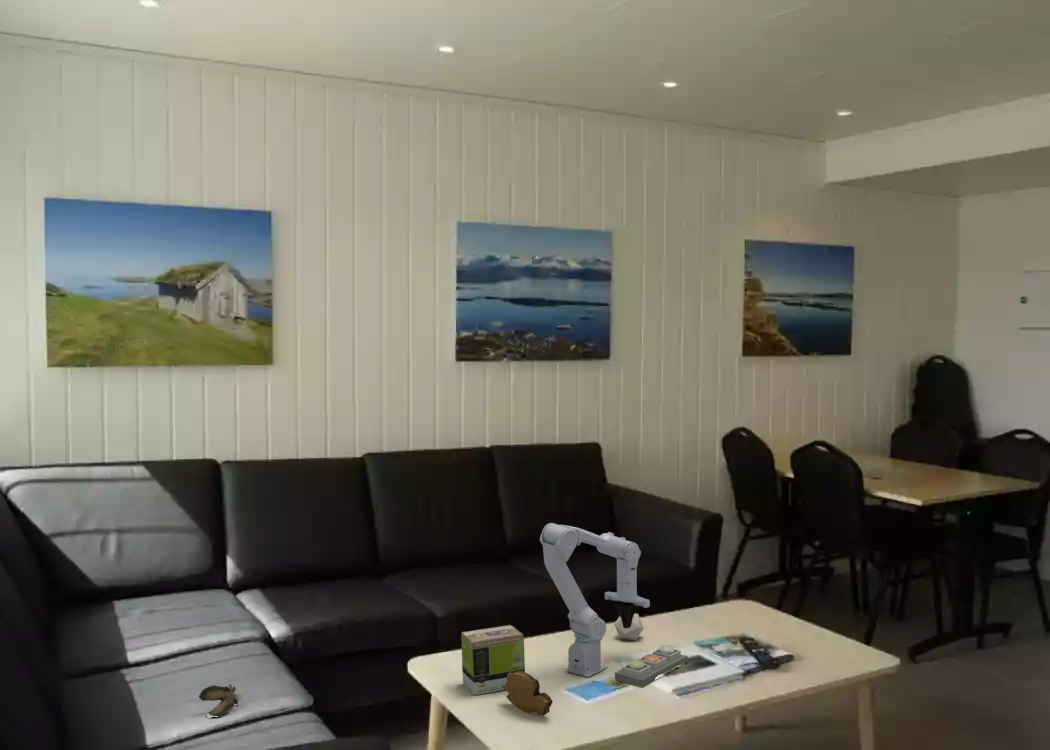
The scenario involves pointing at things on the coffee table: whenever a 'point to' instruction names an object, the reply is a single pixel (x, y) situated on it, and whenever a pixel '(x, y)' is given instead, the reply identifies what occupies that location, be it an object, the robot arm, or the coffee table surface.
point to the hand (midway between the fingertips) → (627, 627)
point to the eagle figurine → (222, 697)
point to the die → (630, 632)
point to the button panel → (650, 668)
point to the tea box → (491, 657)
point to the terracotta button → (652, 658)
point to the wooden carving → (526, 693)
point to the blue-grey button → (666, 649)
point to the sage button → (636, 665)
